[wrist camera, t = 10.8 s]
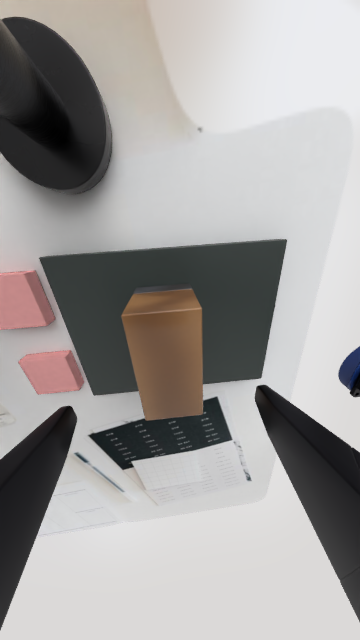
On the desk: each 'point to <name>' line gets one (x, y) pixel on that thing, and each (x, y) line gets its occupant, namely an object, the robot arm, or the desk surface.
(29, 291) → the crumb
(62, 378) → the crumb
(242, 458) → the desk surface
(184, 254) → the slate
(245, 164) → the desk surface
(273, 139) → the desk surface
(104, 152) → the desk lamp
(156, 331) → the brown block
